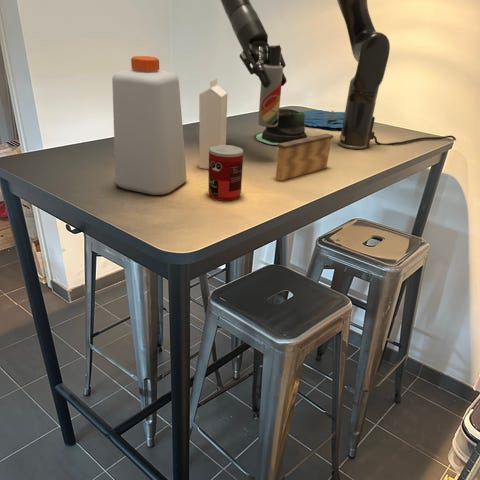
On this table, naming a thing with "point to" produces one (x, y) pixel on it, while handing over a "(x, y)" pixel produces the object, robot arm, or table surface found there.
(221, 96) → the milk
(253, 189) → the table surface
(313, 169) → the wall panel
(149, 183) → the plastic bottle
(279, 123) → the chocolate cake
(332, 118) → the decorative plate
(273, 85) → the lotion bottle
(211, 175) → the canned food
